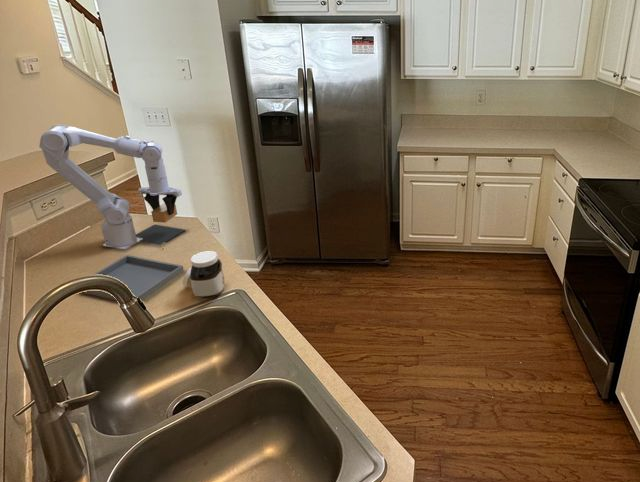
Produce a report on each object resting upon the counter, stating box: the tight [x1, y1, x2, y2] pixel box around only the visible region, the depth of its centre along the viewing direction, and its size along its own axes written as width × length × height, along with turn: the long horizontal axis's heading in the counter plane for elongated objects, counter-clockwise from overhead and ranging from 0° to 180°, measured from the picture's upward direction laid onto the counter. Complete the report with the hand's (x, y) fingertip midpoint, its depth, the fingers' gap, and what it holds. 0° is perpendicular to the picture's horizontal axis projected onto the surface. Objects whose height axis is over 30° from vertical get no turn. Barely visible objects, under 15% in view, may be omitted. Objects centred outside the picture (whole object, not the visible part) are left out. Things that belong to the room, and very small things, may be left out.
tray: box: [82, 254, 185, 302], centre depth 128 cm, size 22×18×3 cm
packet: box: [150, 203, 178, 224], centre depth 152 cm, size 4×7×4 cm, turn 174°
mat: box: [136, 224, 186, 246], centre depth 156 cm, size 14×12×1 cm
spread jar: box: [182, 250, 225, 300], centre depth 124 cm, size 12×11×12 cm
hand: (164, 213), depth 152 cm, fingers closed on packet, 4 cm apart
